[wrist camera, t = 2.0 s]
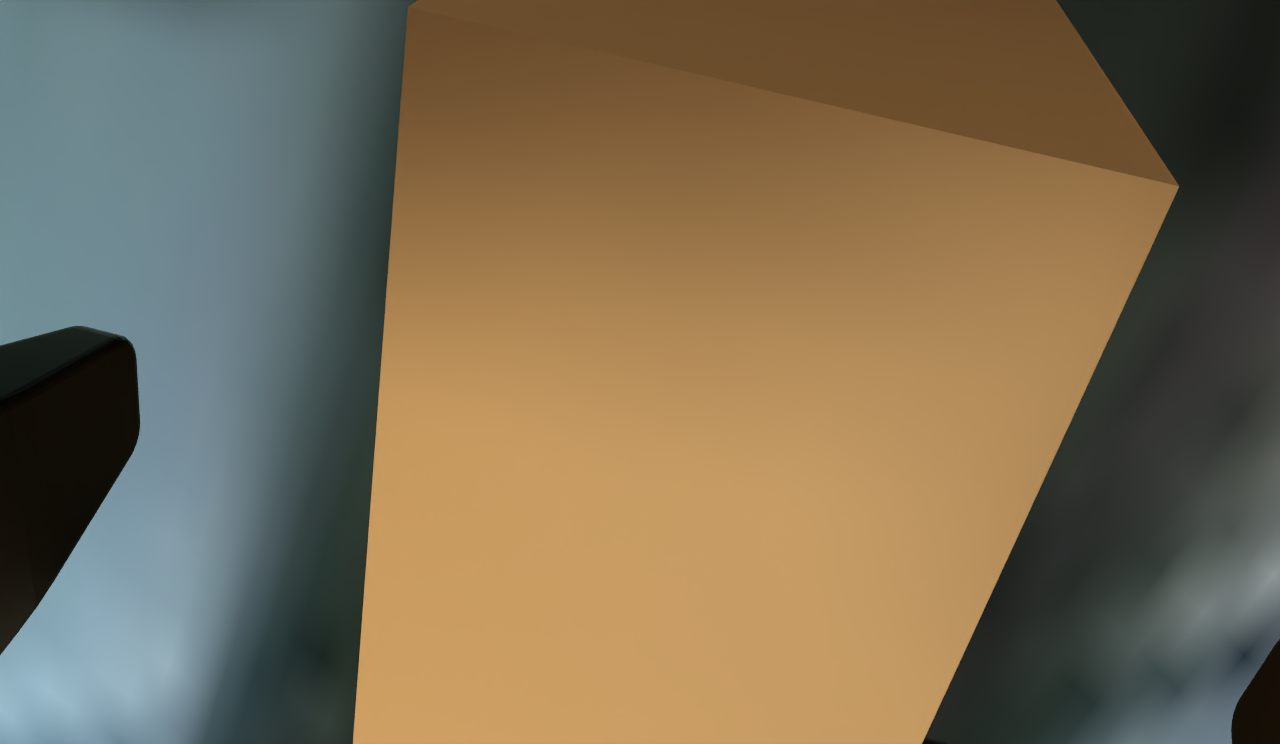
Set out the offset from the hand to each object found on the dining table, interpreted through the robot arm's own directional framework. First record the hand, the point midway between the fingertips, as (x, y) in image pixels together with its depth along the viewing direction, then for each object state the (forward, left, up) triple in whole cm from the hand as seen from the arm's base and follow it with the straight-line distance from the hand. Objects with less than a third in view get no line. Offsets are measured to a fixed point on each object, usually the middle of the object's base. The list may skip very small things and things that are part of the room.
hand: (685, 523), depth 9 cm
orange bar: (0, 0, -4) cm, 5 cm away
